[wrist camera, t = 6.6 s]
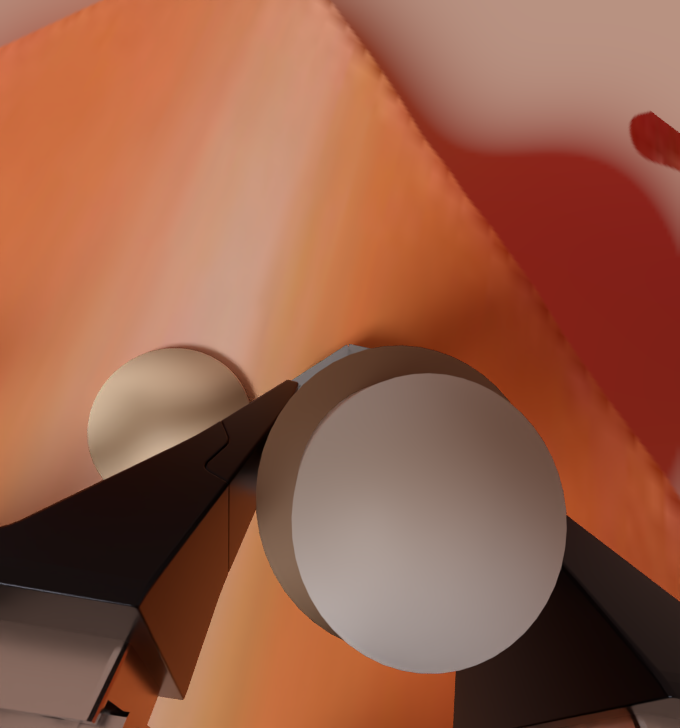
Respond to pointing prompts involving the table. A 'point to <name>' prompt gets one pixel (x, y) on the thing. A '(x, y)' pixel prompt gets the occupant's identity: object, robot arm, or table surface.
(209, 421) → the cork mat
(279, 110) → the table surface
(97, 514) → the robot arm
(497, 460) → the salt mill
